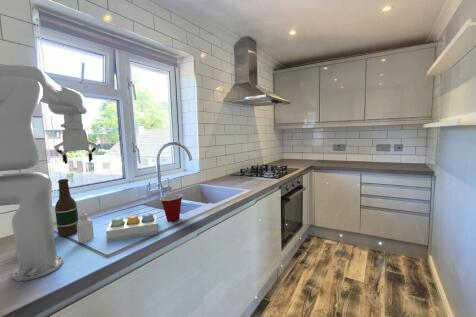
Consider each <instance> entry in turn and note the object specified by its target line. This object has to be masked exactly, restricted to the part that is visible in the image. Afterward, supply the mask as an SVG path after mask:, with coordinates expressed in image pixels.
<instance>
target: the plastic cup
mask: <svg viewBox="0 0 476 317" xmlns="http://www.w3.org/2000/svg"><path fill="white" fill-rule="evenodd" d="M182 197H183V194H181V193H174V194H167V195H164V196H162V197H160V198H159V200H160V202H161V204H162V206H163V210H164V215H165V218H166V221H167V222H168V223H175V222H178V221H179V220H180V218H181V217H180V215H181V207H182V199H183V198H182Z"/></svg>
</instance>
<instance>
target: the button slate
mask: <svg viewBox="0 0 476 317" xmlns="http://www.w3.org/2000/svg"><path fill="white" fill-rule="evenodd" d="M153 215H154V214H153V213H152V212H149V213H144V214H142V216H141V217H142V219H143V223H145V222H152V221H153Z"/></svg>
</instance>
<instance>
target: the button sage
mask: <svg viewBox="0 0 476 317" xmlns="http://www.w3.org/2000/svg"><path fill="white" fill-rule="evenodd" d="M123 219H124V217H121V216H120V217H113V218H112V219H111V221H112V227H118V226H124V222H123Z"/></svg>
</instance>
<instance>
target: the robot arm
mask: <svg viewBox="0 0 476 317" xmlns="http://www.w3.org/2000/svg"><path fill="white" fill-rule="evenodd" d="M40 103H44V104H46V105H47V106H48V109H49V110H50V112H52V113H53V114H55V115H59V116H61V115H63V122H64V123H62V124H60V128H64V129H63V130H62V142H60V143H58V144H56V145H54V146H53V148H54V150H55V151H56V152H57V154H59V155H61V156H62V162H63V163H64V164H65V165H68V163H69V162H68V155H67V153H68V152H75V151H87V152H88V154H87V155H88V162H89V163H91V162H92V161H93V153H94V151H95V152H96V150H97V149H98V148H97V147H98V145H99V144H98V143H95V142H92V141H90V140H89V135H88V132H87V129H85V122H84V115H85V114H87V113H88V112H89V109H90V108H89V102H88V100H87V99H86V98H85V96H84V95H83V94H82V93H81V92H79V91H78V90H75V89H72V88H69V87H66V86H64V85H60V84H57V83H56V82H55V81H54V80H52V78H50V77H49V76H48V75H47V74H46V73H45V72H43V71H42V70H41V69H40V68H38V67H36V66H33V65H32V66H31V65H18V64H17V65H13V64H12V65H11V64H10V65H9V64H0V172H7V171H21V170H22V171H23V170H28V169H32V168H34V167H36V166H37V165H38V164H39V159H40V158H39V150H38V146H37V140H36V137H35V133H34V129H33V128H34V127H33V116H34V114H35V112H36V109H37V108H38V106H39V104H40ZM90 145H92V146H93V148H92V149H90ZM60 147H62V149H63V150H61V149H60ZM52 185H53V184H52V179H51V178H50V176H49V175H47V174H46V173H43V172H38V171H33V172H32V171H26V172H13V173H12V172H11V173H0V207H3V206H12V205H13V206H14V205H18V206H19V208H18V209H17V210H16V212H15V213H14V214H13V216H12V219H11V226H12V232H13V238H14V239H13V240H14V245H15V246H14V247H15V254H16V260H17V266H18V267H17V268H15V269H14V270H13V271H12V275H11V276H12V279H13V280H14V281H17V282H21V281H29V280H35V279H39V278H41V277H44V276H46V275H49V274H51V273H53V272H54V271H56V270H57V269H60V267H62V266H63V264H64V258H63V257H62V256H60V255H57V248H56V240H55V232H54V231H55V229H54V224H53V223H54V222H53V217H52V216H53V214H52V203H51V202H52V200H51V199H52V190H53V189H52V187H53V186H52Z"/></svg>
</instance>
